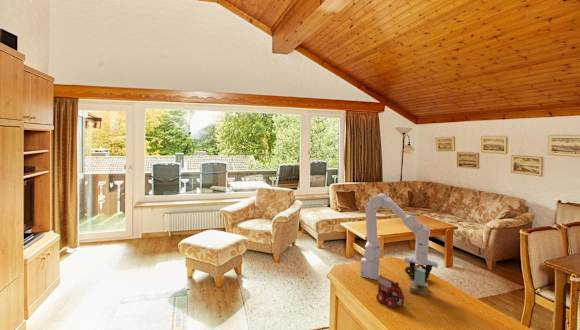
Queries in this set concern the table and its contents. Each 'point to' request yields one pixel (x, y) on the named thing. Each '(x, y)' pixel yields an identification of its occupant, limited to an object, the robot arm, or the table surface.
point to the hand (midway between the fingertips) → (419, 279)
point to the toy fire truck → (389, 292)
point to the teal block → (419, 277)
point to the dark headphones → (415, 267)
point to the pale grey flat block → (418, 289)
